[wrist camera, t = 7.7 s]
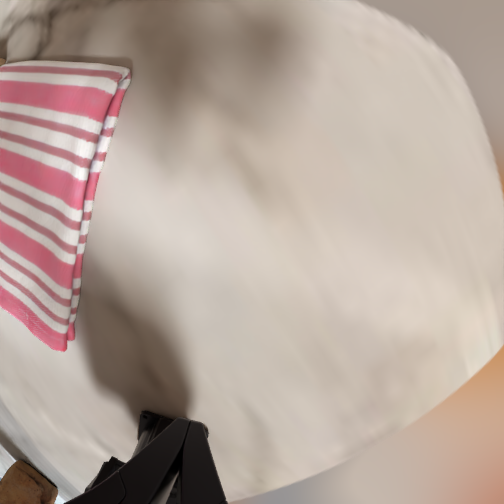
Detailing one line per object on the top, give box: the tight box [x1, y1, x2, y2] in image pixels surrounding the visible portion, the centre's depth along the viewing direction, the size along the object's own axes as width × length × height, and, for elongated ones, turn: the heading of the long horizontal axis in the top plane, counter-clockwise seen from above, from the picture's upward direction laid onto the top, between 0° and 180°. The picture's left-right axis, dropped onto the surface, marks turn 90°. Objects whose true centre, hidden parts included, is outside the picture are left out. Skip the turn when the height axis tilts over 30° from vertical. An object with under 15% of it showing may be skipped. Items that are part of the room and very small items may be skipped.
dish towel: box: [0, 60, 131, 352], centre depth 17 cm, size 17×23×4 cm
